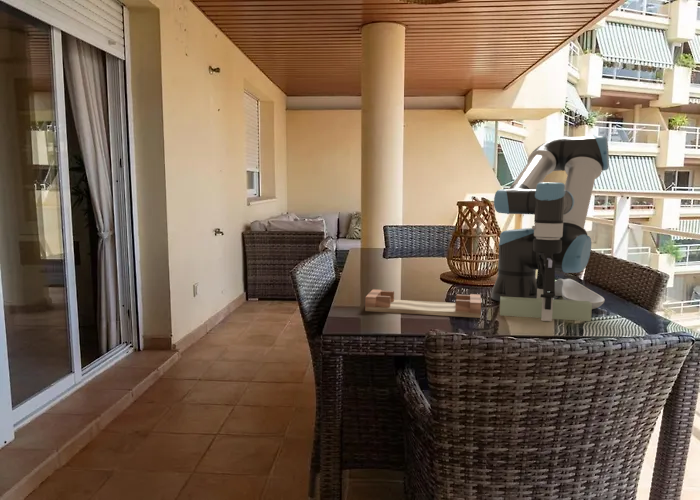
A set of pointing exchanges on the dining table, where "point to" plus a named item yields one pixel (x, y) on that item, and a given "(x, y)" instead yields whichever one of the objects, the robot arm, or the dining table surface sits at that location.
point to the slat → (534, 308)
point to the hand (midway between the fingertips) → (543, 315)
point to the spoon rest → (577, 292)
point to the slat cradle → (423, 305)
